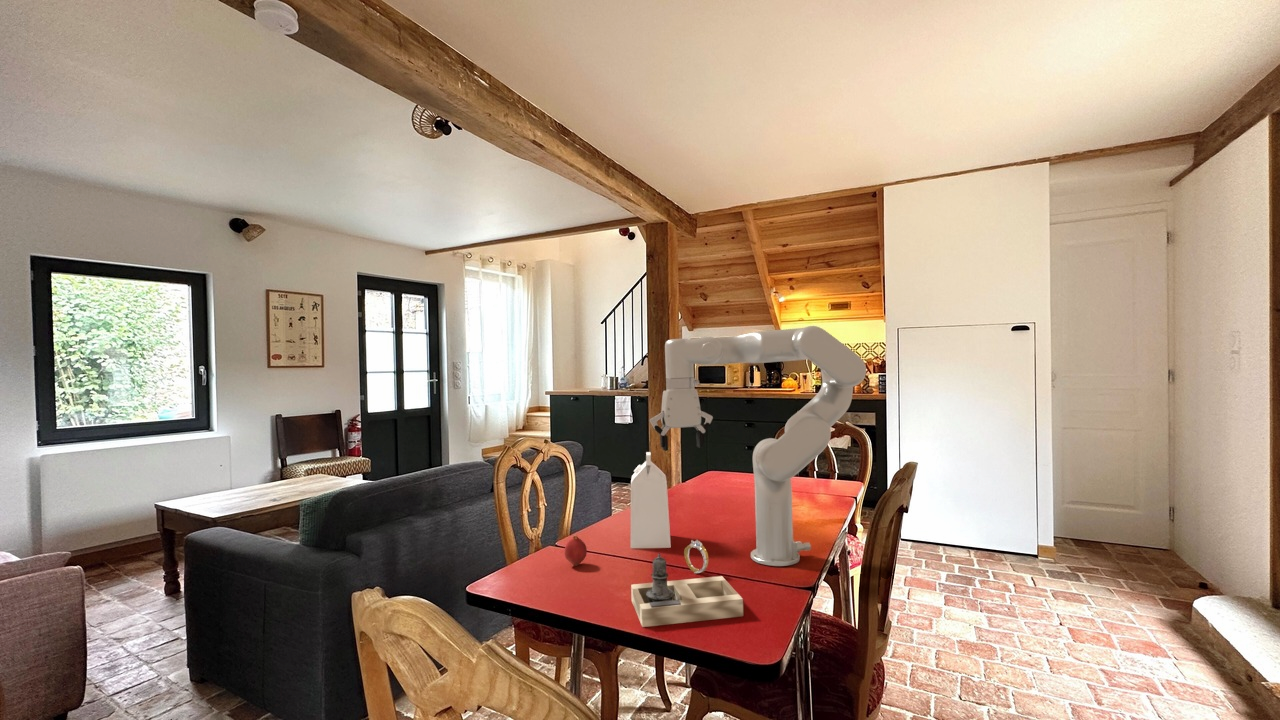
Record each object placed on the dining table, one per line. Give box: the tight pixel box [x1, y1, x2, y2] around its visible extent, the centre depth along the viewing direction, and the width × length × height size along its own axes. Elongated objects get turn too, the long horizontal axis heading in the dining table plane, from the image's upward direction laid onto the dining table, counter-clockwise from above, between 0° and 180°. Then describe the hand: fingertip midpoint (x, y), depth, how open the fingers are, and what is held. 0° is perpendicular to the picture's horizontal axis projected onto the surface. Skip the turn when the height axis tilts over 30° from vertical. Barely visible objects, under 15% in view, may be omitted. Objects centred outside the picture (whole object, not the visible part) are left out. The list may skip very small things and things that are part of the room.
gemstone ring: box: [683, 539, 709, 574], centre depth 138 cm, size 7×3×8 cm, turn 38°
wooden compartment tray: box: [630, 575, 744, 628], centre depth 118 cm, size 21×13×4 cm, turn 100°
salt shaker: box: [646, 553, 674, 603], centre depth 117 cm, size 6×6×12 cm
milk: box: [630, 451, 672, 549], centre depth 165 cm, size 12×12×26 cm
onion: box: [564, 534, 588, 567], centre depth 146 cm, size 6×6×8 cm
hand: (682, 448), depth 149 cm, fingers open, 9 cm apart
